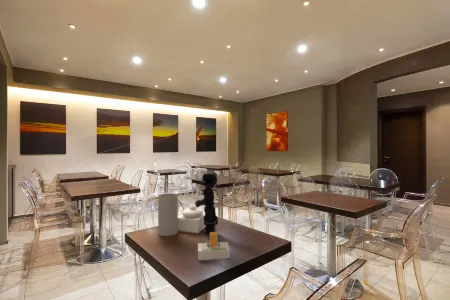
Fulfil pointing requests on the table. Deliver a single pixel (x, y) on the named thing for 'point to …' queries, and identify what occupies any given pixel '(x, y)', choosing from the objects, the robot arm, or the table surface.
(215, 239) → the breaker lever
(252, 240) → the table surface
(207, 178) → the robot arm
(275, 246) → the table surface
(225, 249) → the box
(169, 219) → the cylinder vase
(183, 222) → the butter dish
